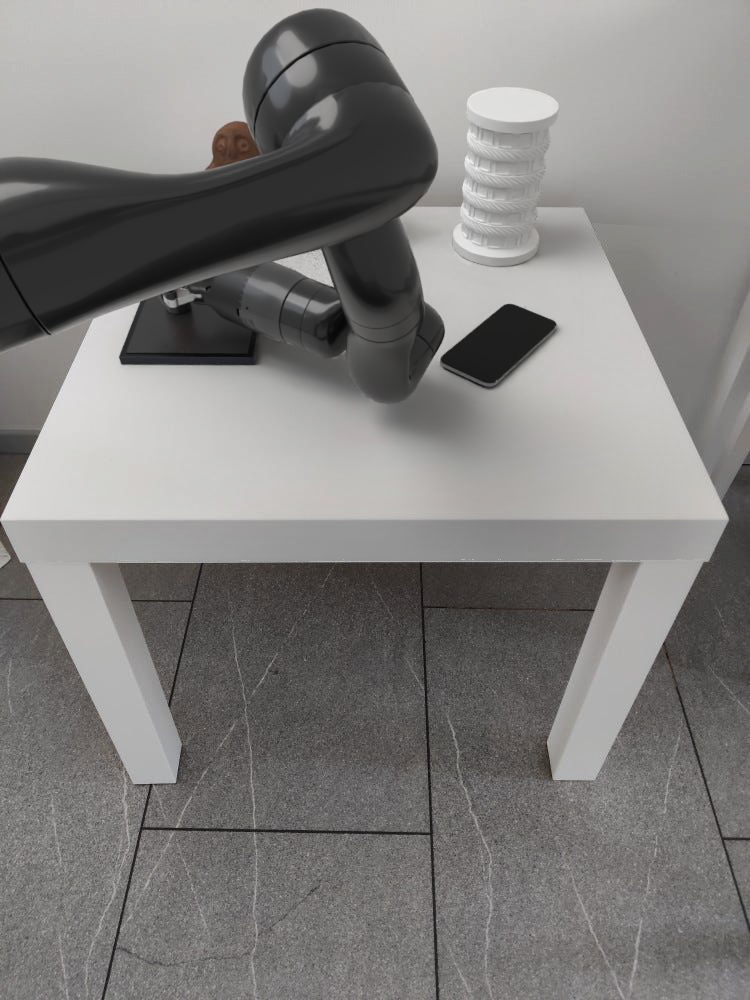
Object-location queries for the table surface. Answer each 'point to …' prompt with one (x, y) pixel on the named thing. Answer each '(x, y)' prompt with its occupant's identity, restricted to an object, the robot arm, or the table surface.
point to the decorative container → (503, 174)
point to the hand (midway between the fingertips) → (149, 251)
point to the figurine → (232, 145)
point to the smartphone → (498, 344)
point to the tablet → (186, 337)
